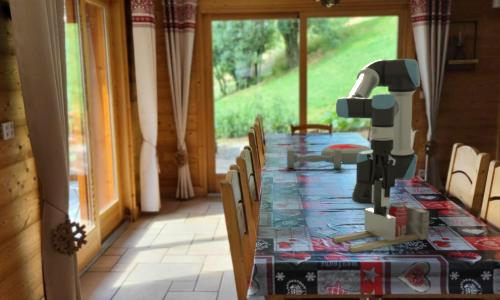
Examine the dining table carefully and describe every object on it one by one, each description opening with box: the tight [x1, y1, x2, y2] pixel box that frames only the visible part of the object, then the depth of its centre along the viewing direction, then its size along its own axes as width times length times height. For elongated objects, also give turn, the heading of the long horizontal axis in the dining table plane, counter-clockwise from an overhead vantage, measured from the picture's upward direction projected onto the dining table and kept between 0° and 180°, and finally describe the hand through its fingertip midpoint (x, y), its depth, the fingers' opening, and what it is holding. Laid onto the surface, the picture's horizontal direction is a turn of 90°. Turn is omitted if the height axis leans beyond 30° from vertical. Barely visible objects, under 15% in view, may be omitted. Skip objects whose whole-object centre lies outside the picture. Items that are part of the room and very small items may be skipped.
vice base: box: [331, 201, 430, 253], centre depth 164 cm, size 14×32×10 cm, turn 113°
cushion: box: [320, 143, 372, 164], centre depth 321 cm, size 37×37×10 cm
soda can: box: [388, 202, 407, 237], centre depth 167 cm, size 6×6×12 cm
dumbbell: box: [286, 147, 342, 170], centre depth 290 cm, size 13×33×13 cm, turn 84°
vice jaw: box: [364, 178, 396, 241], centre depth 163 cm, size 13×4×20 cm, turn 23°
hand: (380, 203), depth 163 cm, fingers closed on vice jaw, 4 cm apart
